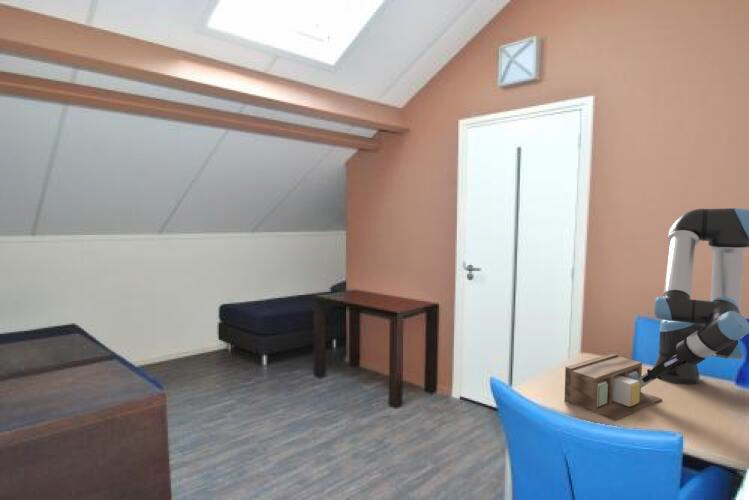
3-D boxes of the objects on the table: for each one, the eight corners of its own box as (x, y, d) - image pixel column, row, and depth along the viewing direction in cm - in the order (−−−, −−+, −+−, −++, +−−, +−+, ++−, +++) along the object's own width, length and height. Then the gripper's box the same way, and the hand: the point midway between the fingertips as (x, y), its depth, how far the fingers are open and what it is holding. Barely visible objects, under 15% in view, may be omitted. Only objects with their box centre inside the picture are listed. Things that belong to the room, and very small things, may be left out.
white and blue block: (638, 392, 158) (638, 371, 157) (630, 395, 155) (631, 374, 154) (616, 385, 164) (617, 365, 163) (608, 388, 161) (609, 368, 161)
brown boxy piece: (661, 400, 153) (663, 366, 152) (615, 420, 138) (616, 383, 138) (611, 384, 168) (612, 353, 167) (564, 401, 153) (565, 367, 152)
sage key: (607, 404, 148) (608, 381, 148) (598, 407, 146) (599, 385, 145) (585, 396, 155) (586, 374, 154) (577, 399, 152) (577, 377, 151)
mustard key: (639, 403, 148) (640, 381, 148) (631, 407, 146) (632, 384, 145) (616, 396, 155) (617, 374, 154) (608, 399, 152) (609, 377, 152)
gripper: (695, 362, 134) (635, 398, 149) (715, 355, 141) (655, 390, 156) (676, 341, 138) (620, 378, 153) (696, 334, 145) (640, 370, 160)
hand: (638, 384), depth 155 cm, fingers closed
